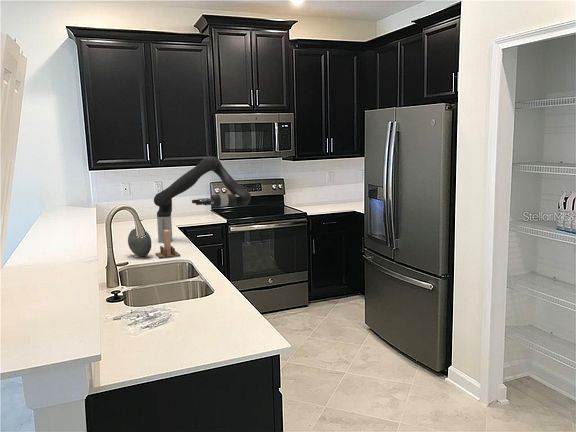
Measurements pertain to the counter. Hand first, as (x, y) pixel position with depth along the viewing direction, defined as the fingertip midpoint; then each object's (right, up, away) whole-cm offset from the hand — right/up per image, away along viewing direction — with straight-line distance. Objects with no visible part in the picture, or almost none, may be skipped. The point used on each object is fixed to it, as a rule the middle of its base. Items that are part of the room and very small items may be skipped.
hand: (194, 202), depth 292 cm
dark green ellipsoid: (-30, -32, -8) cm, 45 cm away
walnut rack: (-14, -32, -6) cm, 35 cm away
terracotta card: (-14, -31, -6) cm, 34 cm away
